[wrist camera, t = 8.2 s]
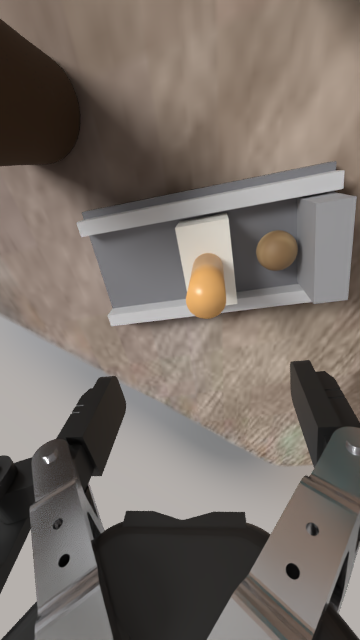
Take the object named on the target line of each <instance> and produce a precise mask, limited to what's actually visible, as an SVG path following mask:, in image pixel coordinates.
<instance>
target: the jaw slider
mask: <svg viewBox="0 0 360 640" xmlns="http://www.w3.org/2000/svg"><path fill="white" fill-rule="evenodd" d="M175 231H176V236H177V242H178V247H179V252H180V257H181V263H182V268H183V273H184V279H185V284H186V289H187V296H186V304H187V307H188V309H189V311H190V312H191V313H192V314H193V315H195V316H197V317H199V318H204V319H209V318H213V317H216V316H217V315H219V314H220V313H221V312H222V311H223V310H224V308H225V306H226V305H233V304H237V294H236V285H235V275H234V266H233V256H232V247H231V237H230V228H229V219H228V215H227V213H222V214H217V215H211V216H206V217H200V218H195V219H190V220H184V221H179V223H178V224H177V226H176V227H175Z"/></svg>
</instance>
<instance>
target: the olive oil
mask: <svg viewBox="0 0 360 640" xmlns="http://www.w3.org/2000/svg"><path fill="white" fill-rule="evenodd" d="M79 128H80V111H79V105H78V100H77V97H76V94H75V91H74V89H73V86H72V84H71V82H70V81H69V79H68V77H67V76H66V74H65V73H64V71H63V70H62V69H61V68H60V67H59V65H58V64H57V63H56V62H55V61H53V60H52V59H51V58H50V57H49V56H47V55H46V54H45V53H44V52H42V51H41V50H40V49H38V48H37V47H36V46H34V45H33V44H32V43H30V42H29V41H28V40H26V39H25V38H24V37H22V36H21V35H20V34H19V33H18V32H16V31H15V30H14V29H12V28H11V27H10V26H9V25H7V24H6V23H5V22H4V21H2V20H1V19H0V166H11V165H38V164H51V163H54V162H57V161H59V160H61V159H63V158H64V157H65V156H66V155H67V154H68V153H69V152H70V151H71V150H72V148H73V147H74V145H75V143H76V140H77V137H78V133H79Z"/></svg>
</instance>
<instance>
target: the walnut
mask: <svg viewBox="0 0 360 640" xmlns="http://www.w3.org/2000/svg"><path fill="white" fill-rule="evenodd" d="M297 252H298V246H297V242H296V240H295V238H294V237H293V236H292V235H291V234H289V233H288V232H285V231H281V230H276V231H272V232H269V233H267V234H266V235H264V236H263V237H262V238H261V240H260V241H259V243H258V245H257V249H256V255H257V259H258V261H259V263H260V264H261V265H262V266H263V267H264V268H266V269H268V270H272V271H279V270H283V269H285V268H287V267H288V266H290V265H291V264H292V263H293V262H294V260H295V258H296V256H297Z"/></svg>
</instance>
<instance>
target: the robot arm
mask: <svg viewBox="0 0 360 640" xmlns="http://www.w3.org/2000/svg"><path fill="white" fill-rule="evenodd" d="M290 378H291V396H292V401H293V405H294V408H295V411H296V414H297V417H298V420H299V423H300V426H301V429H302V432H303V435H304V438H305V441H306V444H307V447H308V450H309V453H310V456H311V459H312V462H313V465H314V470H313V472H312V474H311V475H310V476H309V477H308V476H304V477H303V478H302V480H301V481H300V483H299V485H298V486H297V488H296V490H295V492H294V494H293V495H292V497H291V499H290V501H289V503H288V504H287V506H286V508H285V510H284V512H283V513H282V515H281V517H280V519H279V521H278V522H277V524H276V526H275V528H274V530H273V532H272V533H271V535H270V534H269V533H268V532H266V531H264V530H263V529H261V528H259V527H257V526H255V525H252V524H249V523H246V518H245V512H211V513H208V514H204V515H201V516H197V517H193V518H190V519H186V520H179V519H176V518H173V517H170V516H167V515H164V514H161V513H157V512H154V511H126V515H125V518H124V522H121V523H118V524H116V525H114V526H112V527H110V528H108V529H107V530H104V528H103V525H102V522H101V519H100V516H99V513H98V510H97V506H96V503H95V500H94V497H93V494H92V491H91V487H90V485H89V480H90V478H91V476H102V473H103V471H104V468H105V465H106V463H107V460H108V457H109V455H110V452H111V449H112V447H113V444H114V441H115V439H116V436H117V433H118V430H119V428H120V425H121V423H122V420H123V417H124V415H125V411H126V401H125V398H124V395H123V392H122V390H121V387H120V384H119V381H118V379H117V377H116V376H110V377H100V378H99V379H98V380H97V382H96V384H95V386H94V387H93V388H92V389H89V390H88V391H87V392H86V393H85V394H84V395H82V396H81V398H80V400H79V402H78V403H77V406H76V407H75V408H74V410H73V412H72V414H71V415H70V417H69V418H68V420H67V422H66V423H65V425H64V427H63V428H62V430H61V432H60V433H59V435H58V437H57V438H56V439H54V440H51V441H49V442H47V443H46V444H44V445H42V446H41V447H40V448H39V449H38V450H37V451H36V452H35V454H34V455H33V457H32V458H29V459H26V460H23V461H19V462H16V463H13V461H12V460H11V458H10V457H9V456H0V593H1V591H2V589H3V587H4V585H5V583H6V580H7V578H8V576H9V574H10V572H11V569H12V567H13V565H14V563H15V561H16V559H17V557H18V555H19V553H20V550H21V548H22V546H23V544H24V542H25V540H26V538H27V535H28V533H29V531H30V529H31V533H32V534H31V535H32V547H33V559H34V569H35V583H36V595H37V602H36V603H35V604H34V605H33V606H32V607H31V608H30V609H29V610H28V611H27V612H26V613H25V615H24V616H23V617H22V618H21V619H20V620H19V621H18V622H17V623H16V624H15V626H13V627H12V629H11V630H10V631H9V632H8V633H7V634H6V635H5V636H4V637H3V638H2V639H1V640H360V639H359V638H358V637H357V636H356V635H355V633H354V632H353V631H352V630H351V629H350V627H349V626H348V625H347V623H346V622H345V621H344V620H343V619H342V617H341V616H340V615H339V611H340V608H341V605H342V602H343V599H344V596H345V593H346V590H347V587H348V583H349V580H350V577H351V573H352V569H353V565H354V562H355V558H356V555H357V552H358V549H359V547H360V422H359V421H358V419H357V417H356V415H355V414H354V412H353V410H352V408H351V407H350V405H349V403H348V401H347V399H346V398H345V396H344V394H343V392H342V391H341V390H340V387H339V385H338V384H337V382H336V380H335V379H334V378H333V377H332V376H330V375H329V374H328V373H327V372H325V371H320V372H315V370H314V368H313V366H312V364H311V362H310V361H309V360H305V361H293V362H291V363H290Z"/></svg>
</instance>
